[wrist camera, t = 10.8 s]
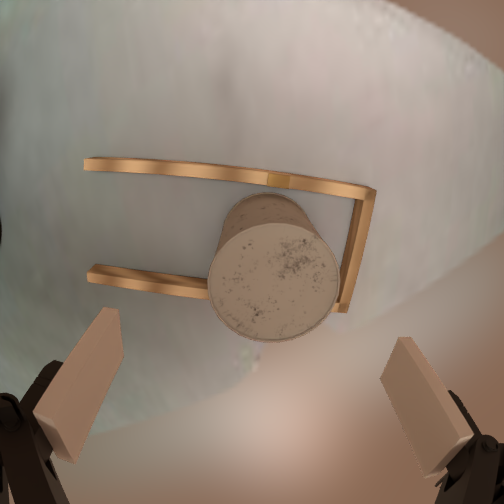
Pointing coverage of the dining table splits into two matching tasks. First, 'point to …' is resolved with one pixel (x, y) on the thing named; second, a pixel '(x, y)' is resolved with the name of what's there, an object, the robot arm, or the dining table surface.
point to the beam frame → (240, 174)
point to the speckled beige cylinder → (272, 271)
